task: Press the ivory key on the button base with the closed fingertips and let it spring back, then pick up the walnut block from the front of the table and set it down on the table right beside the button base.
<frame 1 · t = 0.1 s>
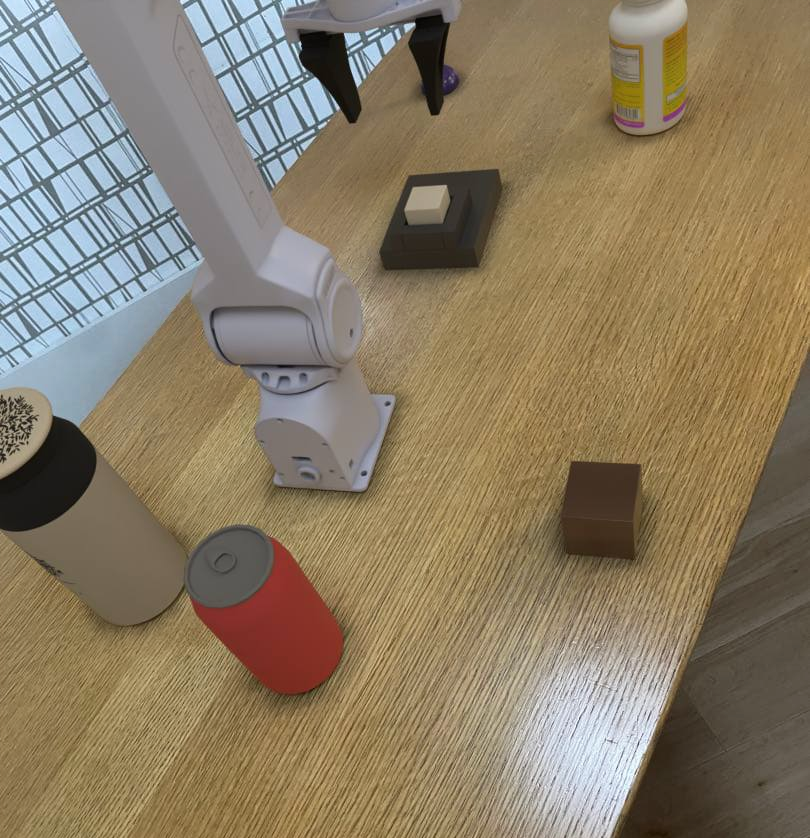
hand: (395, 112, 73), 10 cm above the table, tool pointing down, fingers open, 7 cm apart
walnut block: (605, 528, 57), on the table
key: (427, 205, 74), point 4 cm above the table, slide at 0.1 cm
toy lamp: (442, 88, 93), on the table
button base: (444, 229, 79), on the table
supplement bottle: (649, 119, 81), on the table
travel mug: (143, 582, 65), on the table
beer can: (301, 654, 58), on the table
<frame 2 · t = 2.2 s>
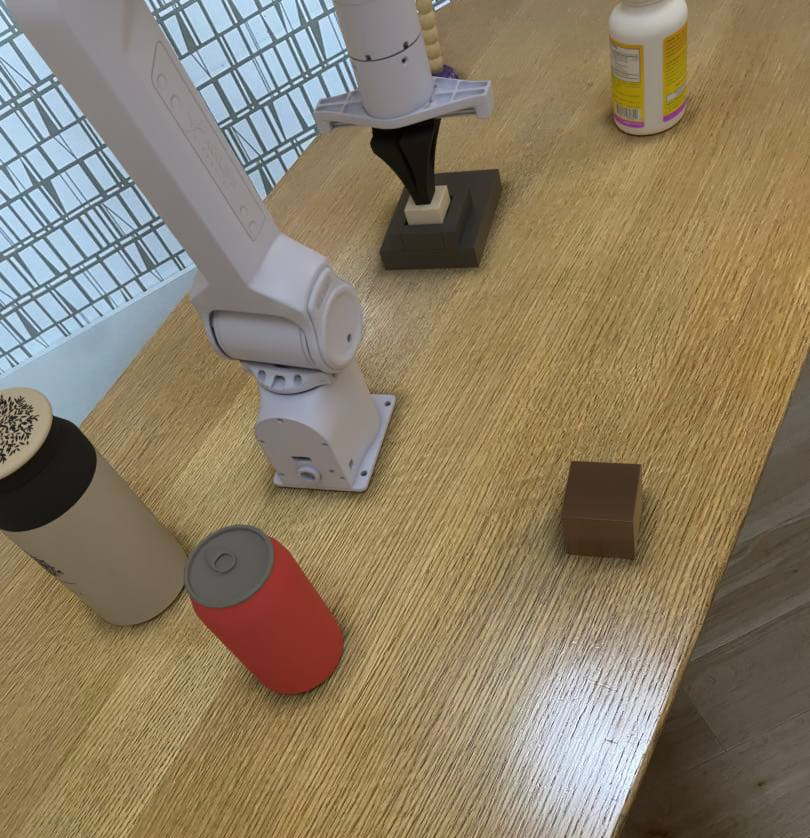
hand: (425, 197, 73), 5 cm above the table, tool pointing down, fingers closed, pressing on key
key: (427, 206, 74), point 4 cm above the table, slide at 0.0 cm, touching gripper
everything else where it was.
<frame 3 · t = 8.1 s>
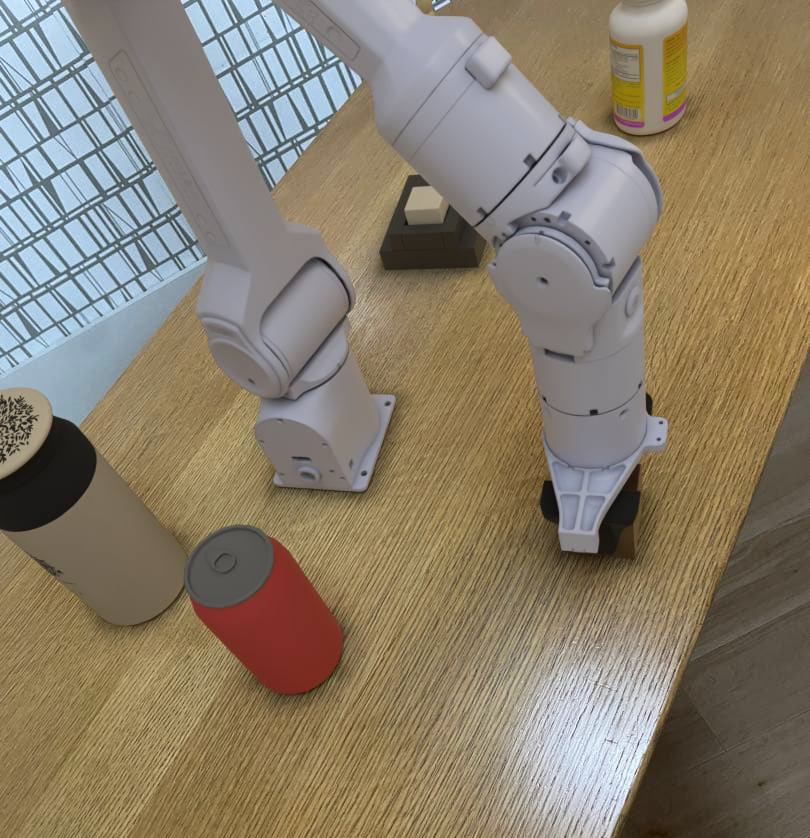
hand: (603, 517, 56), 1 cm above the table, tool pointing down, fingers closed on walnut block, 4 cm apart
walnut block: (605, 528, 57), on the table, touching gripper
key: (427, 205, 74), point 4 cm above the table, slide at 0.1 cm
everything else where it was.
when the fingers open (1 cm above the table, at t = 14.1 s): walnut block stays where it is, on the table.
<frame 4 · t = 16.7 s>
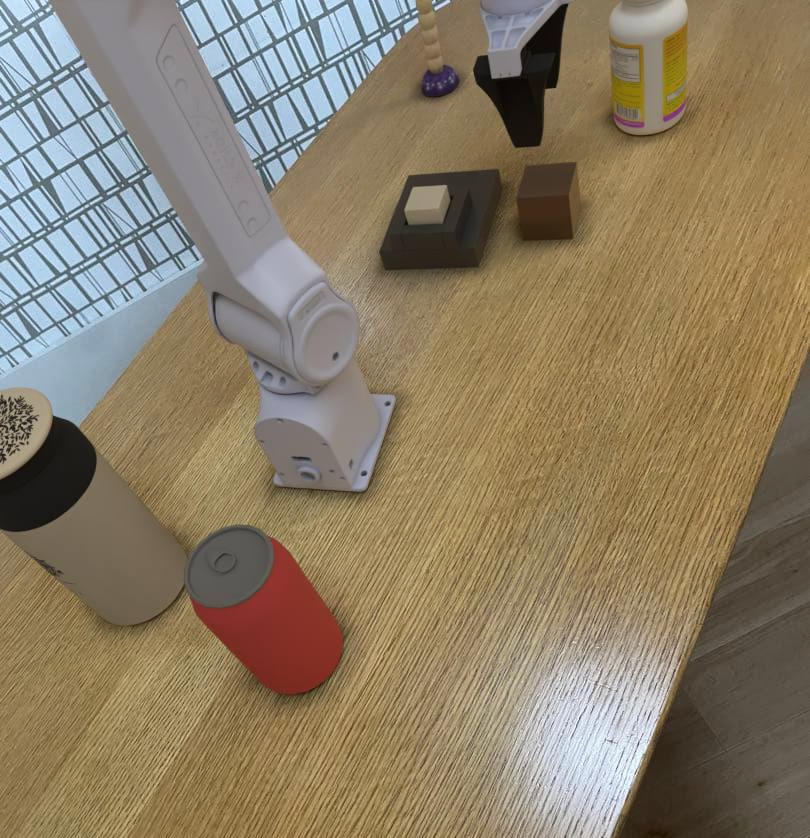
hand: (536, 115, 67), 10 cm above the table, tool pointing down, fingers open, 7 cm apart
walnut block: (552, 223, 76), on the table
everything else where it was.
at the end: key pushed in 1.2 cm at the most during the clip, back to where it started at the end; key slide at 0.1 cm; walnut block inside the target area on the table beside the button base (0.2 cm from its centre), on the table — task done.
